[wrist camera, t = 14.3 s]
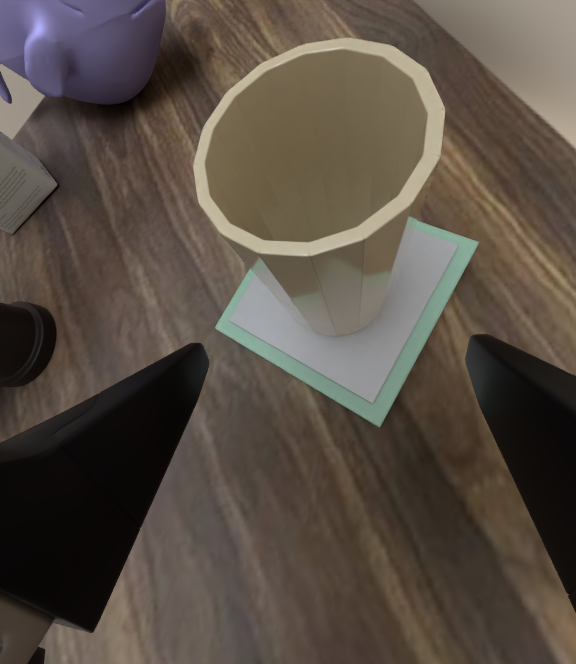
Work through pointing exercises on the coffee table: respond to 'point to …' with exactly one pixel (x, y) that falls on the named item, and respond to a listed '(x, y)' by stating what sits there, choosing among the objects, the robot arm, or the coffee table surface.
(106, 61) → the toy whale
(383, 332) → the scale
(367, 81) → the beige cup
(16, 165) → the cosmetic box
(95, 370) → the coffee table surface
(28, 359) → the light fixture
